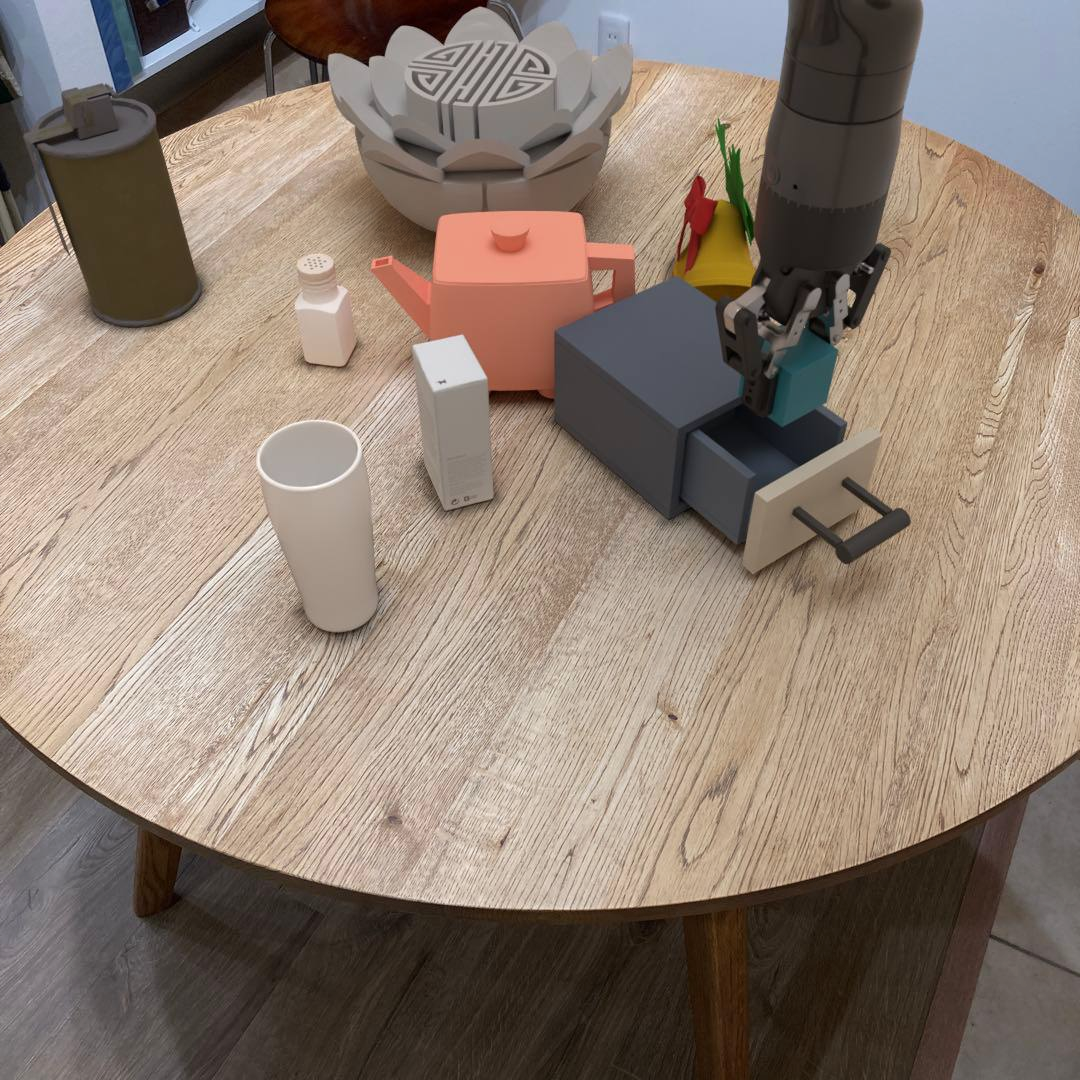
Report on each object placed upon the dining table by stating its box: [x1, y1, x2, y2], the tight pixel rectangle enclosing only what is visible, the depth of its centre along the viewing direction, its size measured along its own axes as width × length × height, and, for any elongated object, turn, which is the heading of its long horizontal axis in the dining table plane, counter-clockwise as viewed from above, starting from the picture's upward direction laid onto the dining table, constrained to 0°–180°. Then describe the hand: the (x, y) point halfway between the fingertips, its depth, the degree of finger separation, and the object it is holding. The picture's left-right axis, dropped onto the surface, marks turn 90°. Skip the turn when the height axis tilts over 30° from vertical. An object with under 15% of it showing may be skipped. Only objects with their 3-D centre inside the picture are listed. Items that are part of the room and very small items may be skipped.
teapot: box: [370, 211, 636, 399], centre depth 94 cm, size 22×13×14 cm, turn 91°
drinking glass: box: [255, 419, 380, 633], centre depth 74 cm, size 7×7×15 cm
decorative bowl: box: [327, 6, 634, 234], centre depth 112 cm, size 30×30×15 cm
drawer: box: [679, 404, 912, 575], centre depth 82 cm, size 19×12×7 cm, turn 36°
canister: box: [22, 83, 203, 327], centre depth 100 cm, size 11×10×20 cm
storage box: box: [553, 276, 742, 520], centre depth 89 cm, size 15×13×9 cm
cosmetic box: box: [411, 335, 495, 511], centre depth 84 cm, size 6×4×12 cm
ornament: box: [672, 117, 757, 303], centre depth 103 cm, size 21×8×15 cm, turn 177°
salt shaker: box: [294, 253, 357, 368], centre depth 97 cm, size 4×4×10 cm
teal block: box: [738, 324, 839, 427], centre depth 76 cm, size 4×4×5 cm
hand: (783, 395), depth 78 cm, fingers closed on teal block, 4 cm apart
